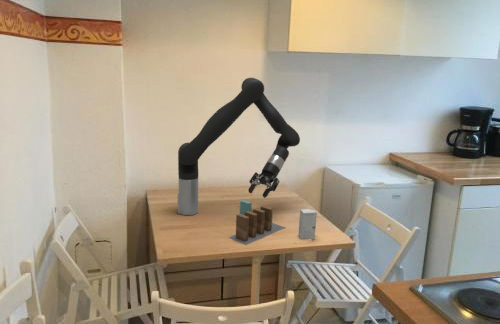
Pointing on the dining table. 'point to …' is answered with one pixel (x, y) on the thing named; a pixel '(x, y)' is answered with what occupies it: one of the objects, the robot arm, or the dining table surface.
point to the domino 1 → (245, 207)
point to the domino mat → (258, 236)
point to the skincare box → (307, 224)
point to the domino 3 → (242, 227)
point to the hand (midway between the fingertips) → (256, 194)
